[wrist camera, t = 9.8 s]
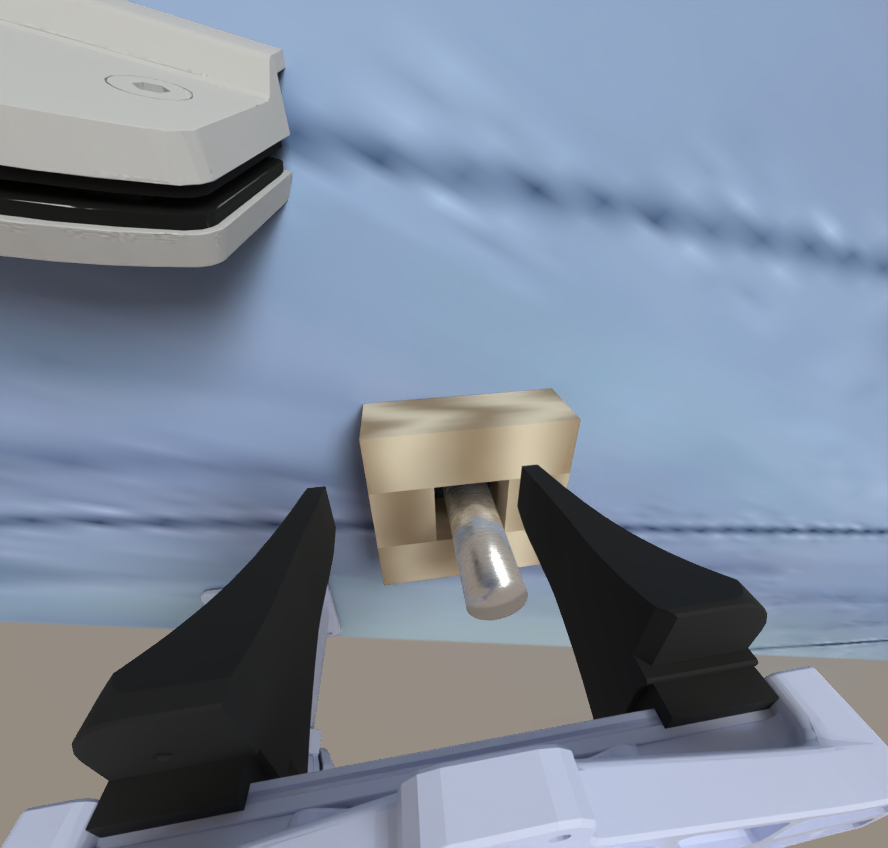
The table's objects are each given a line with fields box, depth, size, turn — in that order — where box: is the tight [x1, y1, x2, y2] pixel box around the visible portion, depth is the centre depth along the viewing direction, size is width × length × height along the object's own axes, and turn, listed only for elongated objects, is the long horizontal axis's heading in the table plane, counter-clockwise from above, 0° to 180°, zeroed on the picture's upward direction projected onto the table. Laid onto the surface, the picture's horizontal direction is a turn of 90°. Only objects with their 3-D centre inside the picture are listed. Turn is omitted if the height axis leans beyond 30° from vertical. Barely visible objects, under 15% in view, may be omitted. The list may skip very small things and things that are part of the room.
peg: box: [442, 482, 528, 620], centre depth 21 cm, size 3×3×10 cm
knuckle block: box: [359, 389, 581, 585], centre depth 24 cm, size 12×12×4 cm
